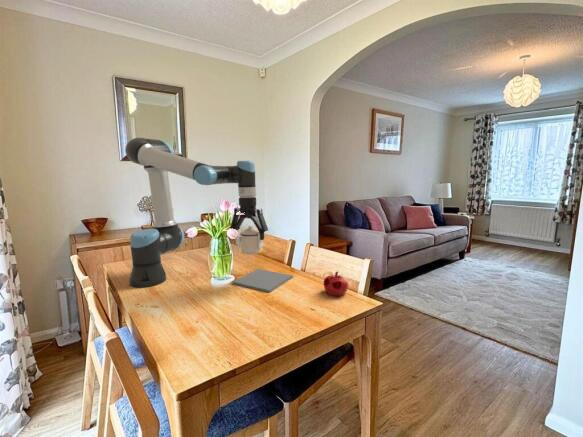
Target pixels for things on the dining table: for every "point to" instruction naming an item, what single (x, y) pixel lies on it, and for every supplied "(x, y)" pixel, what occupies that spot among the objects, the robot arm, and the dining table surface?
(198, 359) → the dining table surface
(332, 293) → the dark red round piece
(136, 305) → the dining table surface
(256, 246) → the teacup with lid
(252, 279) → the slate tile
